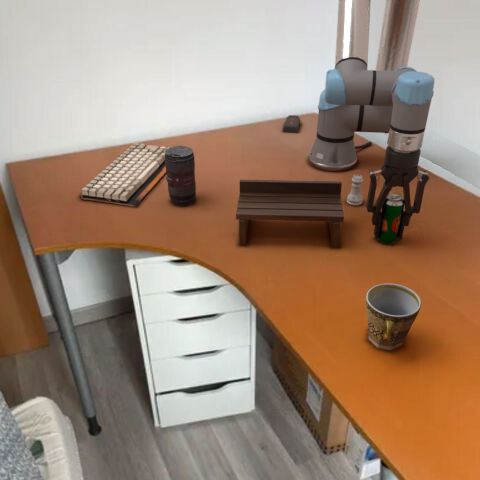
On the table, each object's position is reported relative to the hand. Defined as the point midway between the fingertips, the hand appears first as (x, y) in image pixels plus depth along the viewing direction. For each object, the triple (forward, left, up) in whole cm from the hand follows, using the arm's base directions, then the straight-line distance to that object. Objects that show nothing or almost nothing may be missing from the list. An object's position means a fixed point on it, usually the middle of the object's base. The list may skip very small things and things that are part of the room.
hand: (387, 235), depth 132 cm
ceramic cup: (+32, +22, -1) cm, 39 cm away
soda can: (0, 0, -1) cm, 1 cm away
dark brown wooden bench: (+15, -20, -1) cm, 25 cm away
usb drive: (-41, -71, -1) cm, 82 cm away
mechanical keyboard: (+25, -77, -1) cm, 81 cm away
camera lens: (+24, -53, -1) cm, 58 cm away
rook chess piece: (-10, -18, -1) cm, 21 cm away
